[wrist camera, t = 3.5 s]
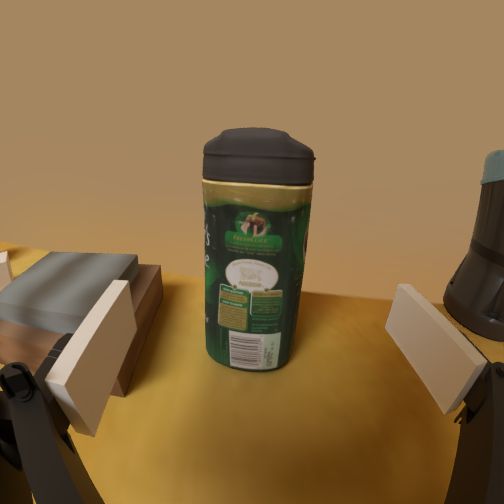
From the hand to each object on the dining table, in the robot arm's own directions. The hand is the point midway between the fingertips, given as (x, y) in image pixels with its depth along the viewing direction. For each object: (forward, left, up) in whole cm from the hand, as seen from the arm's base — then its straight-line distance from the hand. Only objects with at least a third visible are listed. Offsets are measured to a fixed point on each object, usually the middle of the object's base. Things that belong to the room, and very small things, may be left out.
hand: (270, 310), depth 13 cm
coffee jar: (0, -10, -10) cm, 14 cm away
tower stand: (+18, -10, -10) cm, 23 cm away
